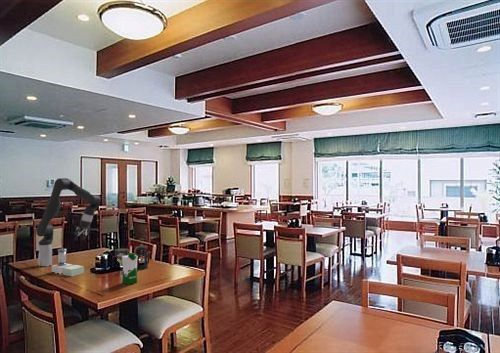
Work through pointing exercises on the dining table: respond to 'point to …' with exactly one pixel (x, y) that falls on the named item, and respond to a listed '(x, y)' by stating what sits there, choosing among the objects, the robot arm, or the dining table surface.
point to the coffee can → (121, 254)
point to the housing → (62, 257)
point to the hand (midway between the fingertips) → (79, 240)
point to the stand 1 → (59, 268)
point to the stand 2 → (73, 270)
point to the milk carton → (129, 268)
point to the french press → (141, 265)
